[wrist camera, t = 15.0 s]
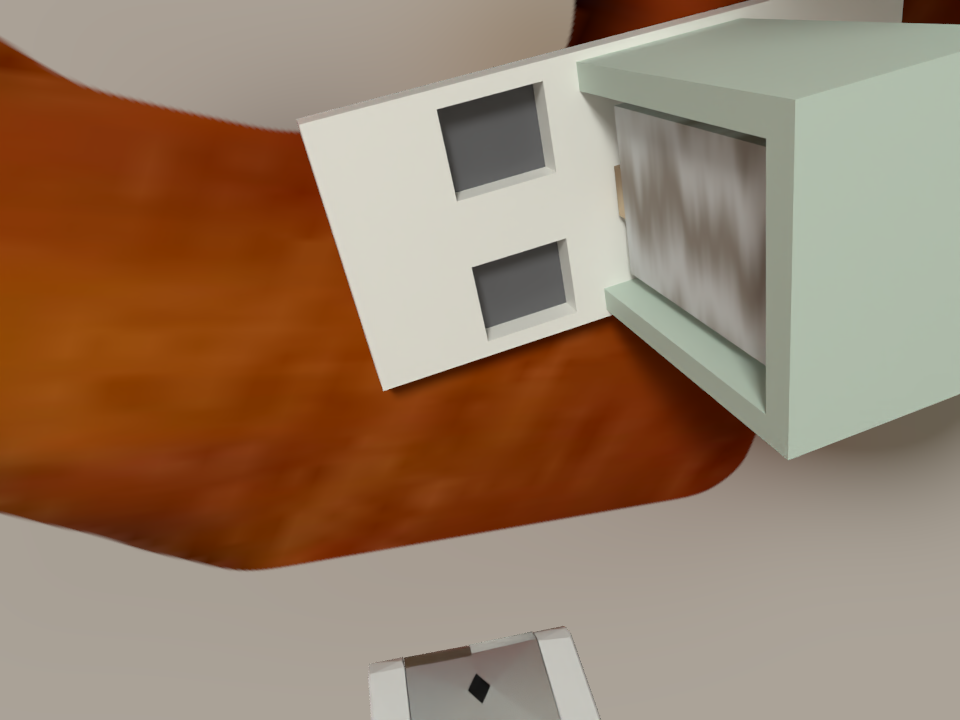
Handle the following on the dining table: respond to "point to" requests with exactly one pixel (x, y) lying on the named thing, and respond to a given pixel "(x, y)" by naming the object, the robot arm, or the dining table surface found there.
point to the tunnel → (820, 216)
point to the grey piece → (697, 218)
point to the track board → (492, 198)
